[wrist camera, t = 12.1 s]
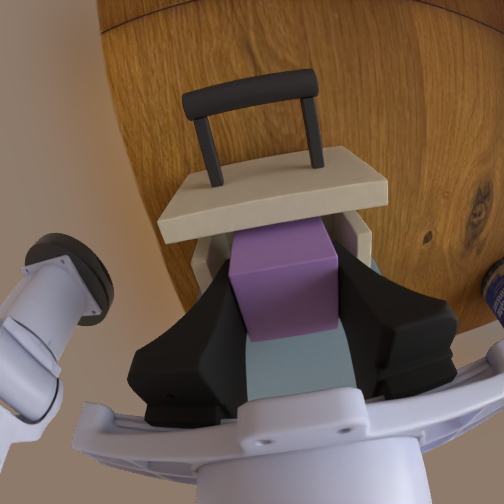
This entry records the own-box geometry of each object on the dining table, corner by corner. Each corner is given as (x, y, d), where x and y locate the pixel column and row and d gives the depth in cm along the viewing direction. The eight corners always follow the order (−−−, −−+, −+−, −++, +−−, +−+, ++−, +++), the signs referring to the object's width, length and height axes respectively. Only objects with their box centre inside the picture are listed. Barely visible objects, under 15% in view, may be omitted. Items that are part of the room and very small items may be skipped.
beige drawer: (167, 102, 14) (118, 113, 9) (330, 70, 13) (376, 61, 8) (234, 313, 24) (230, 381, 18) (348, 294, 23) (371, 358, 17)
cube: (251, 286, 16) (250, 343, 12) (233, 223, 13) (227, 274, 10) (322, 274, 15) (339, 329, 12) (316, 208, 13) (338, 255, 10)
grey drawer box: (208, 250, 21) (188, 338, 14) (352, 225, 20) (398, 303, 13) (247, 355, 29) (245, 428, 21) (350, 338, 27) (369, 409, 20)
